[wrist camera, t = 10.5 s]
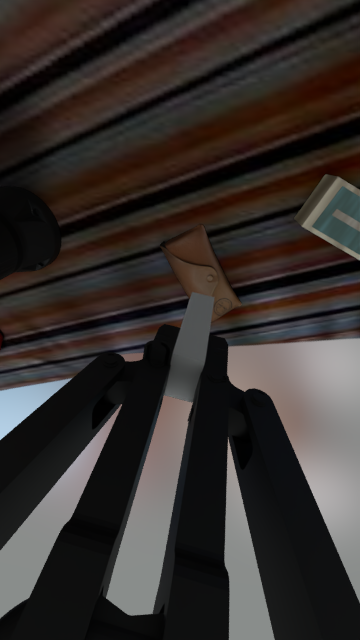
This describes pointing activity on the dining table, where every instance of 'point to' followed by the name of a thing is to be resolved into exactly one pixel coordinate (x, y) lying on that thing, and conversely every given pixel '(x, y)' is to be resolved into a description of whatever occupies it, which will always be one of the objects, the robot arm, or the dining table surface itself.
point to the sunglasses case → (200, 269)
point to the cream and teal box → (334, 214)
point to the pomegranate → (1, 340)
